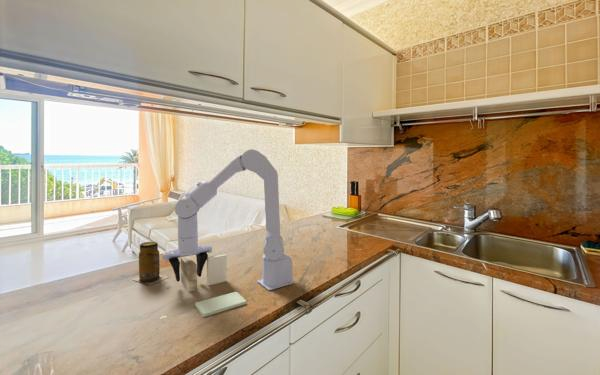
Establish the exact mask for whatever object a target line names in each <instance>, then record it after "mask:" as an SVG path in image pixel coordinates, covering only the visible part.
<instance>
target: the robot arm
mask: <svg viewBox="0 0 600 375" xmlns="http://www.w3.org/2000/svg"><path fill="white" fill-rule="evenodd" d="M245 171H249V172H253V173H255V174H256V175H257V176H258V177H260V178H261V179H262V180H263V188H264V210H265V211H264V212H265V215H264V216H265V239H264V247H263V254H262V278H261V279H258V280H257V283H258V284H260V285H261V286H262V287H264V288H265V289H266V290H268V291H273V290H275V289H276V290H277V289H279V288H282V287H286V286H289V285H292V284H294V281H293V268H294V267H293V260H292V258H291V256H290V255H289V254H287V253H286V254H285V253H284V252H285V247H284V240H283V237H282V235H281V220H280V195H279V193H280V192H279V174H278V171H277V169H276V168H275V167H274V166H273V165H272V163H271V162H270V161H269V159H268V158H267V156H265V154H263V153H261V152H260V151H258V150H257V149H253V148H252V149H248V150H246V151H243V153H242V154H240V155H239V156H236V157H235V158H234V159H232V161H230V162H229V163H228V164H227V165H226V166H225V167H224V168H222V170H220V172H218V173H217V174H216V175H215V176H214V177H213V178H212V179H211V180H210V181H208V180H203V181H202V182H201V181H200V182H198V183H196V187H195V188H194V189H193V190H191V191H190V192H187V193H186V194H185V195H184V196H185V198H181V199H179V200H178V201H177V202H176V204H175V207H174V213H175V214H176V215H177V241H178V242H177V246H178V247H177V249H174V250H170V251H167V252H162V253H161V254H162V260H163V261H164V262H166V261H169V263H170V265H171V267H172V270H173V272H174V276H175V281H177V282H178V283H179V282H181V272H180V271H181V260H179V259H180V258H182V257H188V256H189V257H190V256H195V257H196V265H197V277H202V273H203V270H204V266H205V264H206V263H207V257H209V254H211V253H213V246H212V245H209V244H208V245H201V246H199V239H198V234H199V232H198V230H199V229H198V226H199V225H198V212H199V211H200V210H201V208H203V207H204V206H206V204H208V203H209V202H210V201H211V200H212V199H213V198H215V197H216V196H217V193H218V189H219V188H220V187H221V186H222V185H223V184H224V183H226V182H227V181H228V180H229V179H231V178H232V177H233V176H235V175H236V174H237V173H241V172H245ZM208 253H209V254H208Z"/></svg>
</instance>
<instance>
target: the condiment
mask: <svg viewBox="0 0 600 375" xmlns="http://www.w3.org/2000/svg"><path fill="white" fill-rule="evenodd" d="M158 245H159V244H158V241H157V242H156V241H145V242H142V243H140V244H139V252H138V273H139V274H138V276H139V277H136V278H133V279H132V281H135V282H138V283H141V284H144V285H147V286H150V285H153V284H156V283H159V282H162V281H163V280H166V279H168V278H169V276H167V275H164V274H160V272H161V271H160V269H161V268H160V250H159V246H158Z"/></svg>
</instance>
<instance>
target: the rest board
mask: <svg viewBox="0 0 600 375" xmlns="http://www.w3.org/2000/svg"><path fill="white" fill-rule="evenodd" d="M247 303H248V302H247V300H246V299H245V298H244V297H243V296H242V295H241V294H240V293H239V292H237V291H234V292H229V293H227V294H226V293H225V294H221V295H219V296H214V297H211V298H208V299H204V300H203V299H202V300H200V301H195V302H194V305H195V307H196V309H197V310H198V312H199V313H200V315H201V316H202V317H203V318H205V317H208V316H211V315H214V314H218V313H220V312H224V311H228V310H230V309H233V308H234V309H235V308H237V307H240V306H244V305H246V304H247Z"/></svg>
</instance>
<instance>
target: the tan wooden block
mask: <svg viewBox="0 0 600 375" xmlns="http://www.w3.org/2000/svg"><path fill="white" fill-rule="evenodd" d="M180 282H181V283H182V284H183V286H184V287H185V289H186V290H187V291H188V292H189V293H190V292H193V291H197V290H198V275H197V262H196V263H195V261H194V260H193V259H192V258H191V257H190V256H185V257H180Z"/></svg>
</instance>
